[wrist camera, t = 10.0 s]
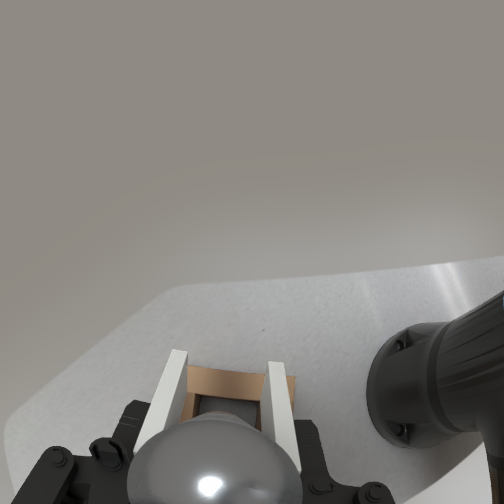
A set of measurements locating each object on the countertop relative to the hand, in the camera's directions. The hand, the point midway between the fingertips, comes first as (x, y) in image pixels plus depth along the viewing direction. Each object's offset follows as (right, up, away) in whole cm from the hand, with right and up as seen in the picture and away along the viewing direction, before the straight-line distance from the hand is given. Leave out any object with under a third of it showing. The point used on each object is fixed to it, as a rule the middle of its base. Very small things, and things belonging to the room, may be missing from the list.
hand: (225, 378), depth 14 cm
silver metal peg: (-1, -5, +1) cm, 5 cm away
